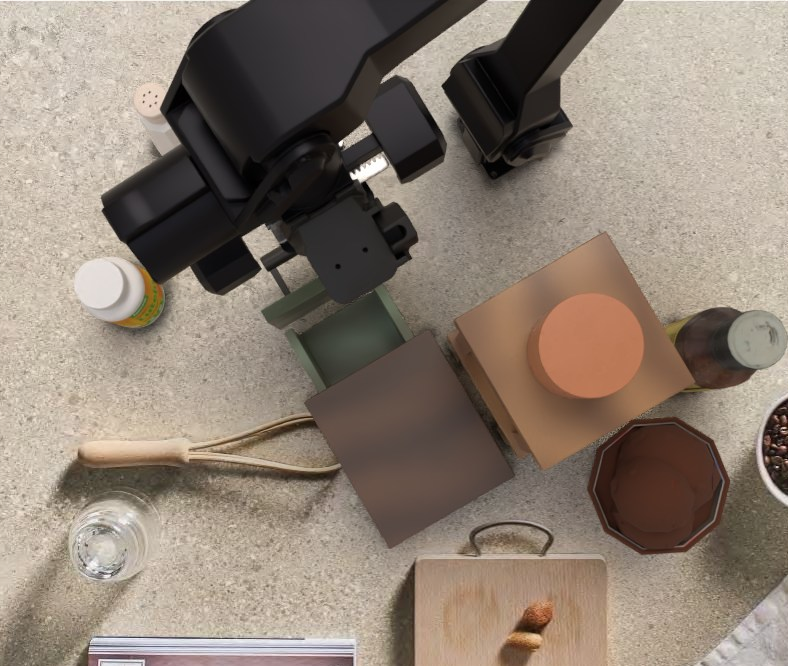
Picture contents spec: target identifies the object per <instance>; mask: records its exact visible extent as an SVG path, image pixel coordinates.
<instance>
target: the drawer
mask: <svg viewBox="0 0 788 666" xmlns="http://www.w3.org/2000/svg"><path fill="white" fill-rule="evenodd" d="M297 256H299V255H298V254H297V252H294V253H287V252H285V251H284V250H283V249H282V247H281V246H280V245H279V246H277V247H275V248H274V249H272V250H270V251H268V252H266V253H265V254H264V255H262V256H260V257H259V260H260V263H261V264H262V266H263V267H264V269H265V271H266V272H267V273H270V274H271V276H272V278H273V279H274V281H275V283H276V285H277V287H278V288H279V290H280V292H281V293H282V295H283V296H282V297H281V298H279V299H278V300H276V301H274V302H273V303H271V304H269V305H268V306H266V307H264V308H262V309H261V310H260V313H261V315H262V316H263V318H264V320H265V321H266V324H268V325H270V326H272V327H274V328H275V329H277V330H279V331H282V330H284V329H285V328H287V327H289V326H290V325H292V324H293V323H295V322H297V321H299V320H300V319H303V317H305V316H308V315H309V314H311V313H313V312H314V311H316V310H318V309H319V308H321V307H322V306H324V305H326V304H328V303H330V302H331V301H334V300H333V299H332V298H331V297H330V295H329V294H328V292H327V290H326V289H325V287H324V286H323V284H322V282H321V281H320V279H319V277H318V276H317V277H315V278H313V279H312V280H310V281H308V282H307V283H305V284H303V285H301V286H300V287H298V288H296V289H295V290H293V291H291V290H290V288H289V287H288V285H287V283H286V282H285V280H284V278H283V276H282V275H281V273H280V271H279V270H278V268H279V267H280V266H282V265H284V264H285V263H287V262H289V261H291V260H292V259H294V258H295V257H297ZM283 334H284V335H283V336H285V338H286V340H287V341H288V343H289V345H290V347H291V348H292V351H293V352H294V354H295V355H296V357H297V359H298V360H299V362H300V364H301V366H302V367H303V369H304V370H305V372H306V374H307V376H308V377H309V379H310V381H311V383H312V385H313V386H314V388H315V390H316V391H317V394H318V393H320V392H322V391H323V390H325V389H327V388H328V387H330V386H332V385H334V384H335V383H337V382H339V381H340V380H342V379H344V378H345V377H347V376H349V375H351V374H352V373H354V372H356V371H357V370H359V369H361V368H362V367H364V366H366V365H368V364H369V363H371V362H373V361H374V360H376V359H378V358H380V357H381V356H383V355H385V354H386V353H388V352H390V351H391V350H393V349H395V348H397V347H398V346H400V345H402V344H403V343H405V342H407V341H408V340H410V339H412V338H414V337H415V335H414V334H413V332H412V330H411V329H410V327H409V325H408V324H407V322H406V320H405V319H404V317H403V315H402V314H401V312H400V310H399V308H398V306H397V305H396V303H395V302H394V300H393V298H392V297H391V295H390V293H389V291H388V289H387V287H386V285H384V283H383V284H381V285H379V286H378V287H376V288H374V289H373V290H371V291H370V292H368V293H366V294H364V295H363V296H361V297H359V298H358V299H356V300H354V301H353V302H351V303H349V304H347V305H346V306H345V307H343V308H342V309H340V310H339V311H336V312H335V313H333V314H331V315H329V316H327V318H324V319H323V320H321V321H320V322H318V323H316V324H314V325H313V326H310V328H308V329H306V330H305V331H303V332H301V333H300V332H298V331H296V330H295V329H293V328H290V329H288V330H286V331H285V332H284V333H283Z"/></svg>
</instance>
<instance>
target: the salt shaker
mask: <svg viewBox="0 0 788 666" xmlns="http://www.w3.org/2000/svg"><path fill="white" fill-rule="evenodd" d="M167 91H168V89H166V88H165V87H164V86H163V85H161V84H159V83H157V82H152V81H150V82H145V83H142V84H141V85H140V86H138V87H137V89H136V90H135V92H134V93H133V98H132V105H133V107H134V110H135V111H136V112H137V118H138V120H139V121H140V123H141V125H142V126H143V128H144V130H145V132H147V135H148V137H149V139H150V140H151V141H152V143H153V146H154V147H155V149H156V150H157V151H158V153H159V154H160V155H161V156H163V155H164V154H166V153H167V152H169V151H170V150H172V149H174V148H175V147H177V146H178V145H180V144H181V143H180V141H179V140H178V138H177V137H176V135H175V133H174V132H173V130H172V129H171V127H170V126H169V124H168V122H167V121H166V119H165V118H164V116H163V115H162V113H161V111H160V107H161V104H162V102H163V100H164V98H165V96H166V93H167Z"/></svg>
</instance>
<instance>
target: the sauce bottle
mask: <svg viewBox="0 0 788 666" xmlns="http://www.w3.org/2000/svg"><path fill="white" fill-rule="evenodd" d="M663 328H664V329H665V331H666V333H667V334H668V336H669V338H670V339H671V341H672V343H673V344H674V346H675V348H676V350H677V351H678V353H679V355H680V356H681V358H682V360H683V361H684V363H685V365H686V366H687V368H688V370H689V371H690V373H691V375H692V376H693V378H694V380H695V383H694V384H692V385H691V386H689V387H687V388H685V389H684V390H682V391H680V392H681V393H695V392H706V391H716V390H717V391H718V390H724V389H729V388H732V387H736V386H737V387H738V386H739V385H742V384H744V383H745V382H748V381H749V380H750V379H751V378H752V376H753V375H754V374H755V373H756V372H757V371H762V370H765V369H768V368H771V367H772V366H775V365H776V364H777V363H778V362H779V361H781V359H782V358H783V357H784V355H785V353H786V351H787V349H788V332H787V331H786V327H785V326H784V324H783V322H782V321H781V319H780V318H778V317H777V316H776V315H775V314H773V313H772V312H770V311H767V310H764V309H752V310H746V311H743V312H742V311H741V310H738V309H736V308H732V307H729V306H715V307H711V308H706V309H704V310H702V311H699V312H697V313H694V314H690V315H688V316H686V317H683V318H681V319H678V320H675V321H673V322H671V323H668V324H667V325H665V326H663ZM680 392H679V393H680Z"/></svg>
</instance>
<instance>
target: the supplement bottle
mask: <svg viewBox="0 0 788 666" xmlns="http://www.w3.org/2000/svg"><path fill="white" fill-rule="evenodd" d="M73 289H74V293H75V296H76V297H77V299H78V300H79V301H80V302H81V304H82V306H83V308H84V309H85V311H86V312H88V313H89V314H90V316H93V317H94V318H96V319H99V320H100V321H104V322H106V323H110V324H114V325H119V326H121V327H125V328H130V329H139V328H144V327H147V326H149V325H151V324H153V323H154V322H155V321H157V319H158V318H159V317H160V316H161V314H162V313H163V310H164V307H165V303H166V294H165V289H164V287H163V284H161V285H158V284H156V283H155V282H154V281H153V280H152V278H151V277H150V275H149V274H148V272H147V270H146V269H145V268H143V267H140V266H139V265H136V264H134V263H133V262H132V261H129V260H128V259H125V258H122V257H119V256H111V255H110V256H104V257H99V258H95V259H91V260H89V261H86V262H85V263H83V264H82V265H81V266H80V267H79V268H78V270H77V271H76V273H75V276H74V279H73Z"/></svg>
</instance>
